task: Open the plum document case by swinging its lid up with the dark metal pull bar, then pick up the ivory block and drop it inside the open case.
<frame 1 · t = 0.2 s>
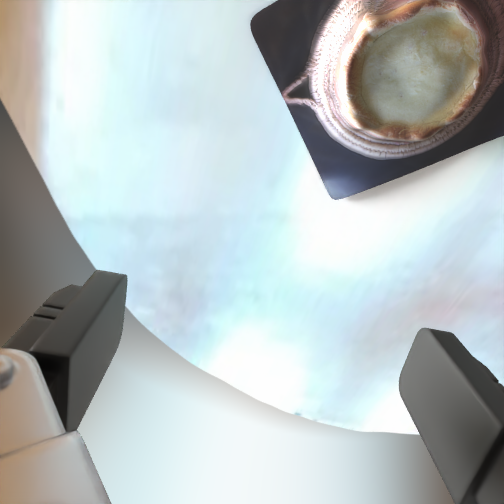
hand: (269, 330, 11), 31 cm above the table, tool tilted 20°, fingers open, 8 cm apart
quiche: (402, 72, 36), on the table
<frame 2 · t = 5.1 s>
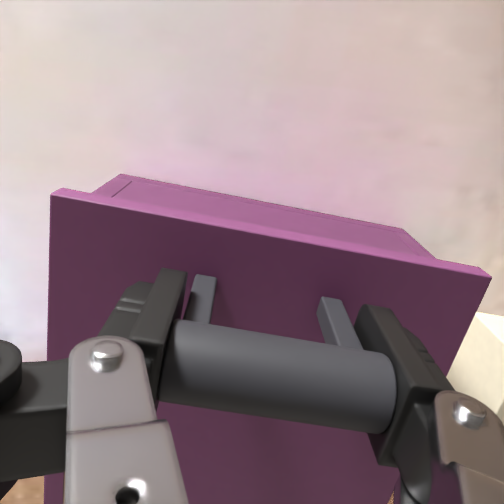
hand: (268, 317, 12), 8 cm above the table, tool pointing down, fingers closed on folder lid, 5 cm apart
folder case: (233, 348, 22), on the table
folder lid: (227, 501, 13), point 9 cm above the table, hinge at 0.0°, touching gripper
block: (492, 351, 22), on the table
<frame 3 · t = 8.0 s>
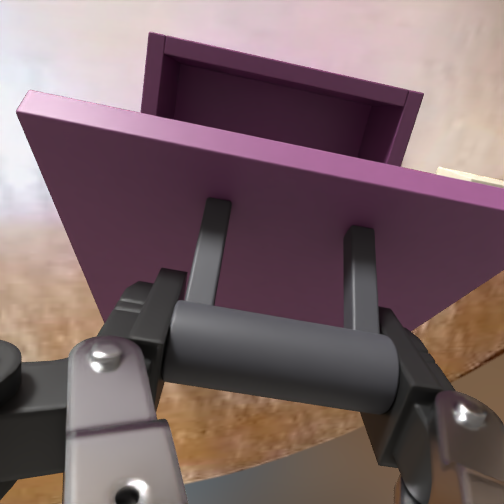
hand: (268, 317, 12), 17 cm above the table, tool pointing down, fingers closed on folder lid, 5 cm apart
folder case: (253, 200, 28), on the table
folder lid: (245, 356, 16), point 14 cm above the table, hinge at 39.1°, touching gripper
block: (456, 203, 29), on the table
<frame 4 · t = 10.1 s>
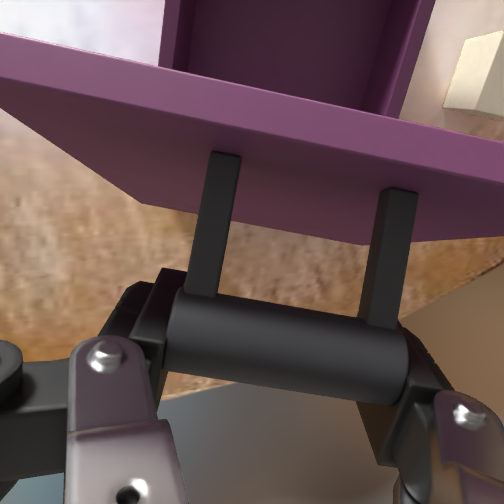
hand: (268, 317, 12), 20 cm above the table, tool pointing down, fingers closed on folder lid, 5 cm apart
folder case: (277, 76, 28), on the table
folder lid: (264, 259, 16), point 16 cm above the table, hinge at 68.2°, touching gripper
block: (483, 81, 28), on the table
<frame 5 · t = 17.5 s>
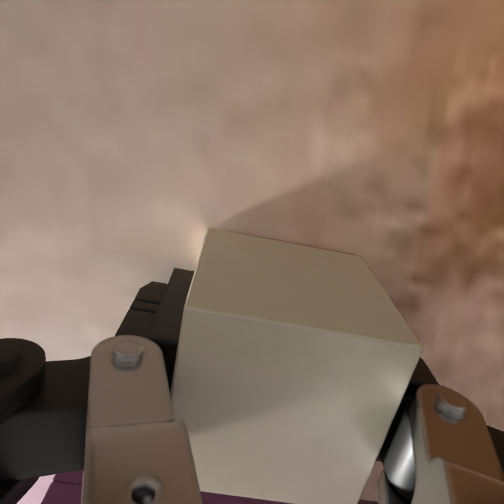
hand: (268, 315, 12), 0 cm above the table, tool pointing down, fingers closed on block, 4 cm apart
block: (268, 309, 12), on the table, touching gripper
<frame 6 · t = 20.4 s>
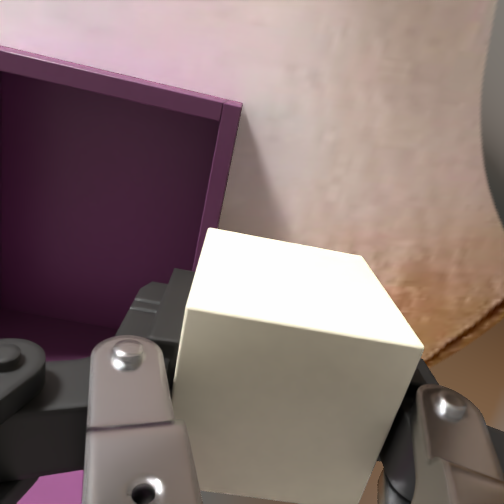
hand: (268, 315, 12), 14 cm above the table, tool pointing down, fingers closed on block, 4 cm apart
folder case: (108, 216, 25), on the table
block: (269, 309, 12), point 14 cm above the table, touching gripper
when the fingers open (6 cm above the table, at t = 23.6 s): block drops 5 cm, resting on folder case.
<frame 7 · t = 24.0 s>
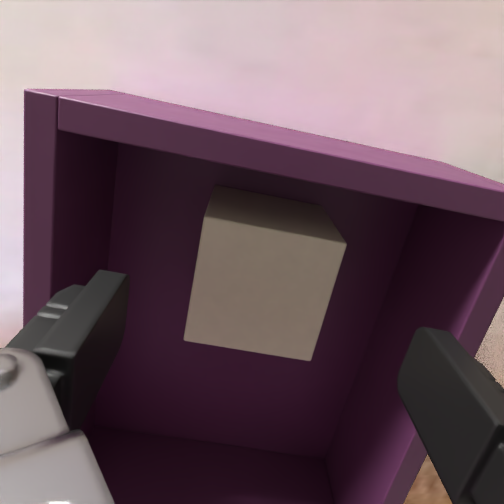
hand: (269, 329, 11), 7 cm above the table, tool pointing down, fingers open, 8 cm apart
folder case: (241, 308, 19), on the table
block: (257, 245, 17), point 1 cm above the table, touching folder case
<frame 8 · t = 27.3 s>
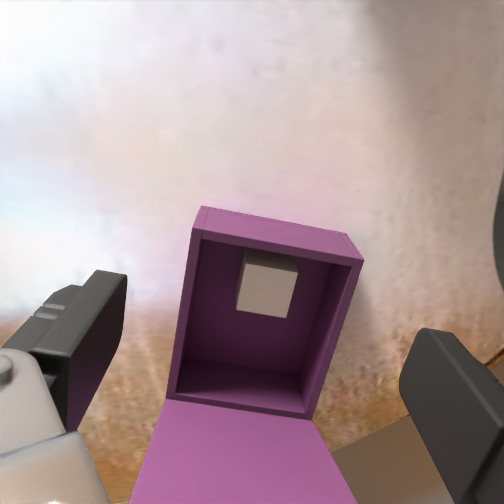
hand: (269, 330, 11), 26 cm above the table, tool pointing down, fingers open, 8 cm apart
folder case: (256, 298, 40), on the table
folder lid: (239, 499, 28), point 16 cm above the table, hinge at 68.6°
block: (264, 270, 38), point 1 cm above the table, touching folder case
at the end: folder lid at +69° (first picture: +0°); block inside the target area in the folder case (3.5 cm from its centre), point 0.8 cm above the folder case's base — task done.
